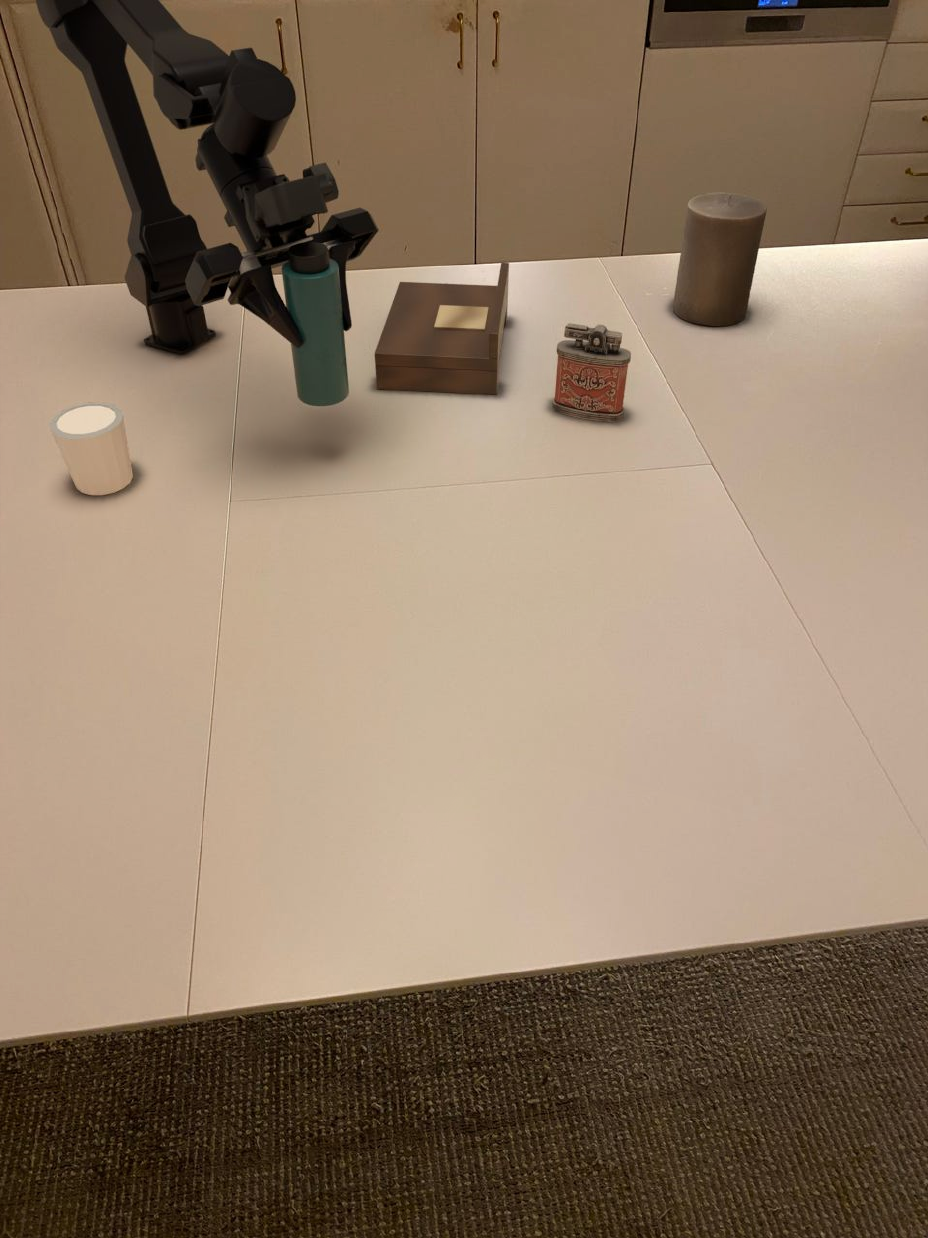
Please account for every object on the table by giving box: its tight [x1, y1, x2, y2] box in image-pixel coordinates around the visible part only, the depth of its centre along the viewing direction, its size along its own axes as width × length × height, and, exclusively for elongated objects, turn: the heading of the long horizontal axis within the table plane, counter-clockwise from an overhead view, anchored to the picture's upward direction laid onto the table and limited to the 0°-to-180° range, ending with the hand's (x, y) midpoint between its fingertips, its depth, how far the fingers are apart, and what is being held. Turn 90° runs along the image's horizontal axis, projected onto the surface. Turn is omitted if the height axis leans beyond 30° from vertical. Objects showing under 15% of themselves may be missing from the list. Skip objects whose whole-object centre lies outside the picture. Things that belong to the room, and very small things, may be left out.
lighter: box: [552, 322, 632, 423], centre depth 104 cm, size 8×3×10 cm, turn 71°
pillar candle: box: [672, 191, 768, 327], centre depth 122 cm, size 10×10×15 cm
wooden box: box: [374, 262, 510, 396], centre depth 115 cm, size 14×20×8 cm
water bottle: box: [281, 242, 350, 407], centre depth 91 cm, size 5×5×15 cm
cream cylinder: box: [49, 402, 134, 496], centre depth 94 cm, size 7×7×7 cm
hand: (324, 337), depth 91 cm, fingers closed on water bottle, 5 cm apart
